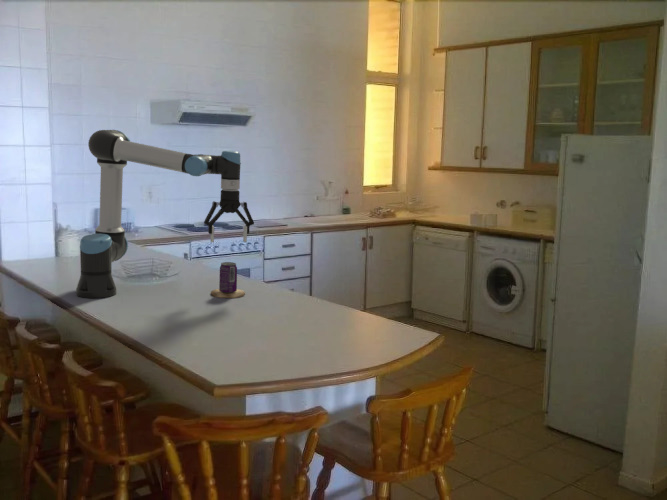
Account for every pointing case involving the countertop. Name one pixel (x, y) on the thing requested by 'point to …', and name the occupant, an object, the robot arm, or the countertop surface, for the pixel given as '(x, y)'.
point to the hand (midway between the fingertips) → (228, 241)
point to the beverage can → (228, 277)
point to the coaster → (227, 294)
